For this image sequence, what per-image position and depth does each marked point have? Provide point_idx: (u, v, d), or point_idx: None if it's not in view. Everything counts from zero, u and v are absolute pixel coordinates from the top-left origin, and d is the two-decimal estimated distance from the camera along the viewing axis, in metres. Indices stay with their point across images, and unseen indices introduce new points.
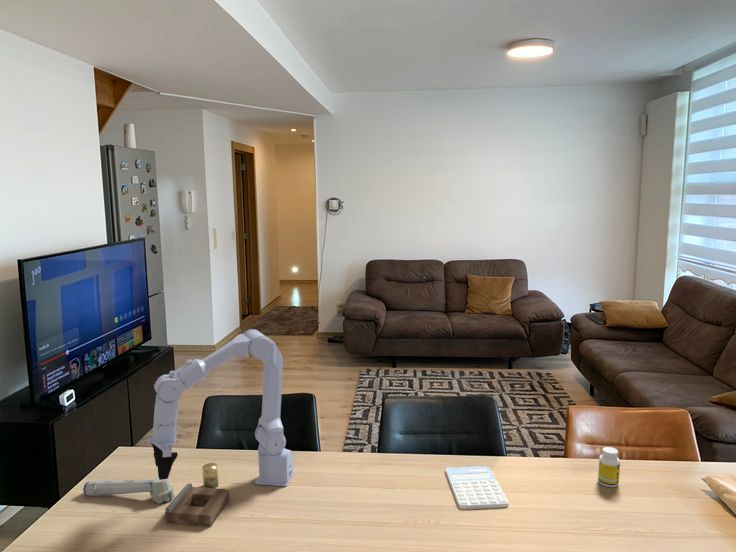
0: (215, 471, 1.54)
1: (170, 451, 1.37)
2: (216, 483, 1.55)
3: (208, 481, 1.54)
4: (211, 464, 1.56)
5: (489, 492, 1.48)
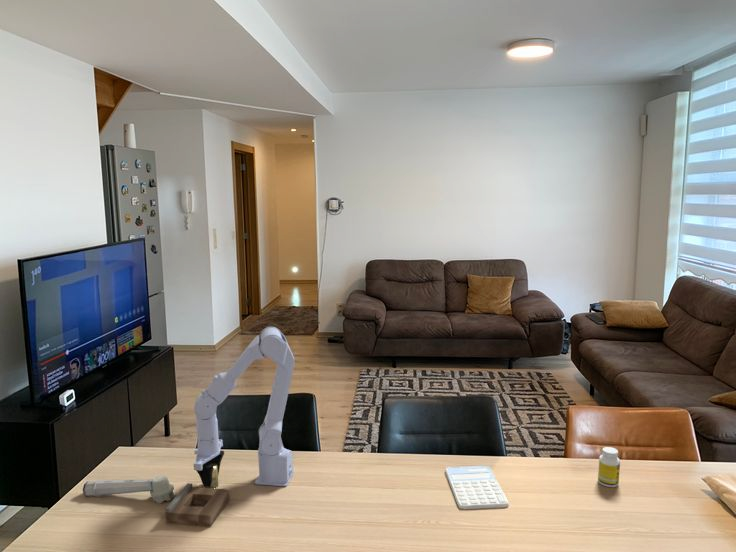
0: (215, 471, 1.54)
1: (199, 465, 1.47)
2: (216, 483, 1.55)
3: None
4: None
5: (489, 492, 1.48)
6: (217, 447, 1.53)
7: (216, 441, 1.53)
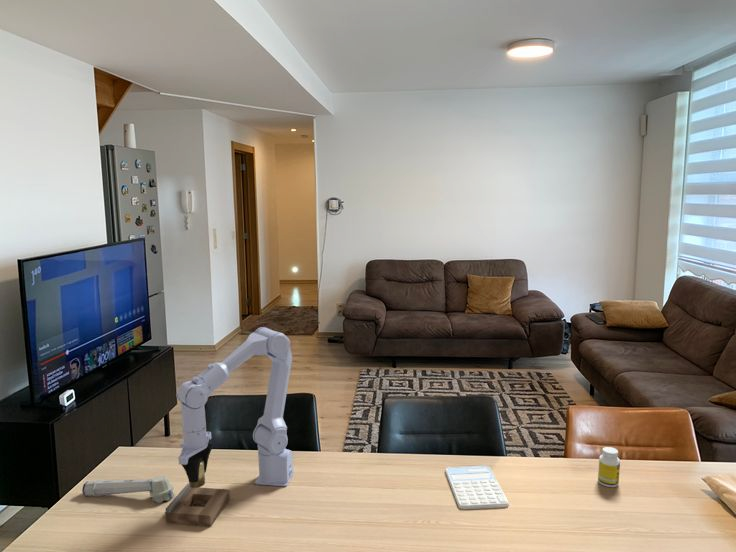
0: (201, 468, 1.42)
1: (184, 459, 1.35)
2: (202, 481, 1.43)
3: None
4: None
5: (489, 492, 1.48)
6: (204, 440, 1.41)
7: (203, 433, 1.41)
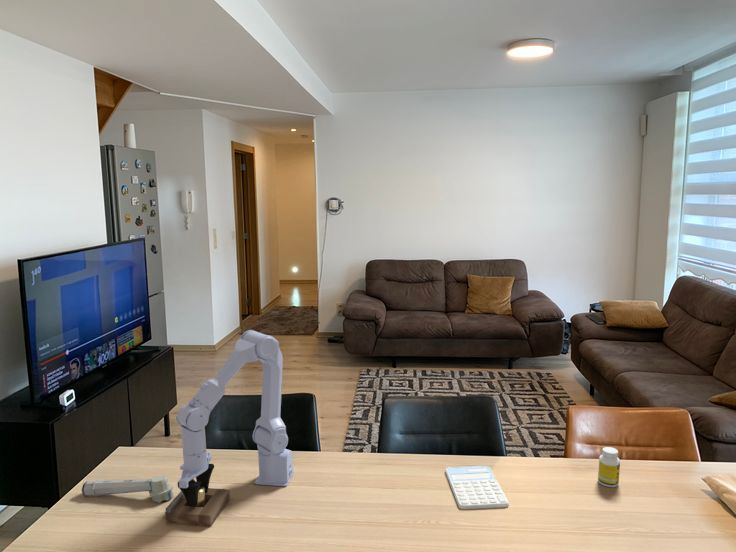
0: (202, 495, 1.42)
1: (185, 483, 1.35)
2: None
3: None
4: None
5: (489, 492, 1.48)
6: (205, 462, 1.41)
7: (204, 456, 1.40)
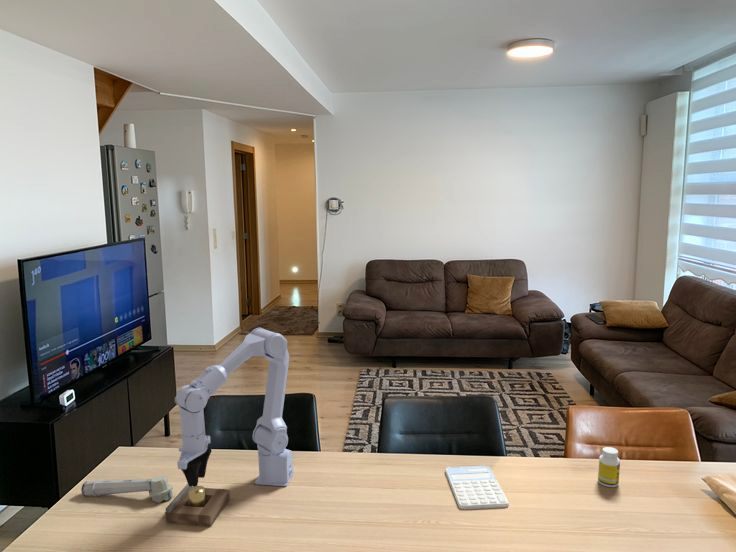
0: (202, 495, 1.42)
1: (183, 464, 1.34)
2: None
3: (195, 506, 1.42)
4: (198, 487, 1.44)
5: (489, 492, 1.48)
6: (203, 444, 1.40)
7: (202, 437, 1.40)
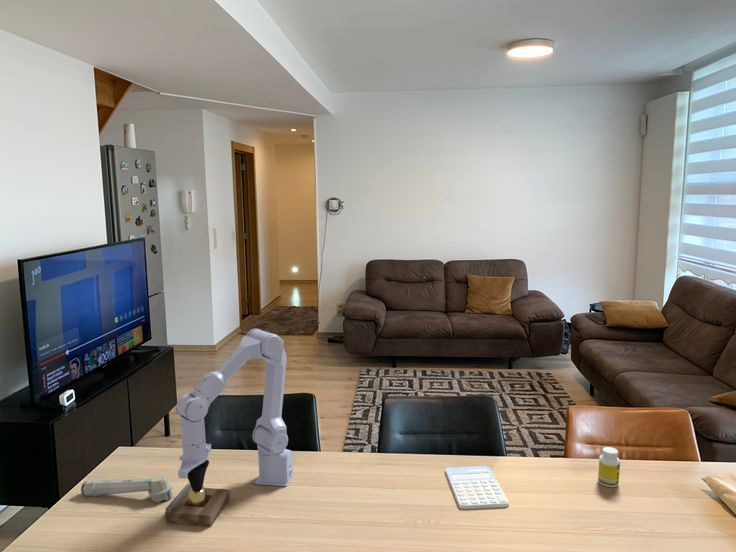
0: (202, 495, 1.42)
1: (184, 473, 1.34)
2: None
3: (194, 506, 1.42)
4: None
5: (489, 492, 1.48)
6: (204, 452, 1.41)
7: (203, 446, 1.40)
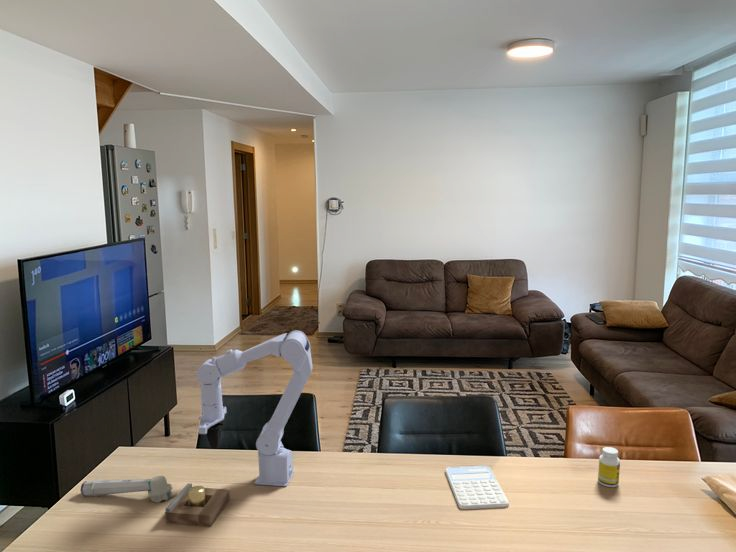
0: (202, 495, 1.42)
1: (204, 429, 1.50)
2: None
3: (194, 506, 1.42)
4: (198, 487, 1.44)
5: (489, 492, 1.48)
6: (221, 412, 1.56)
7: (220, 406, 1.55)
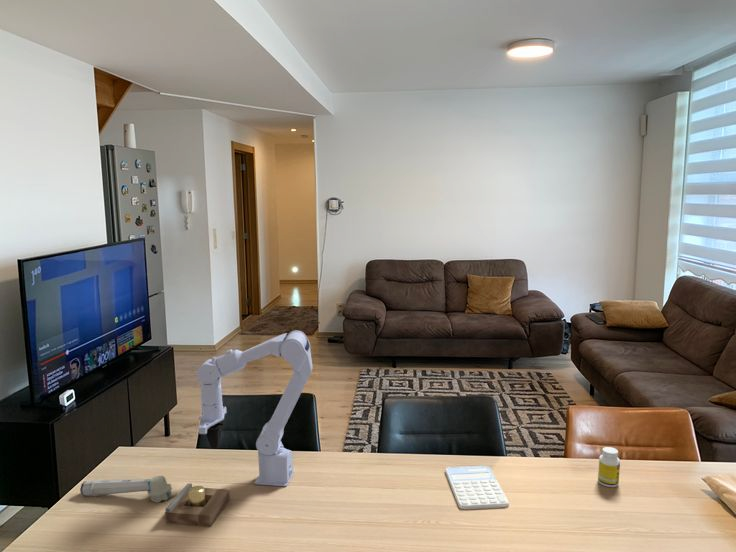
0: (202, 495, 1.42)
1: (204, 429, 1.50)
2: None
3: (194, 506, 1.42)
4: (198, 487, 1.44)
5: (489, 492, 1.48)
6: (221, 412, 1.56)
7: (220, 406, 1.55)
